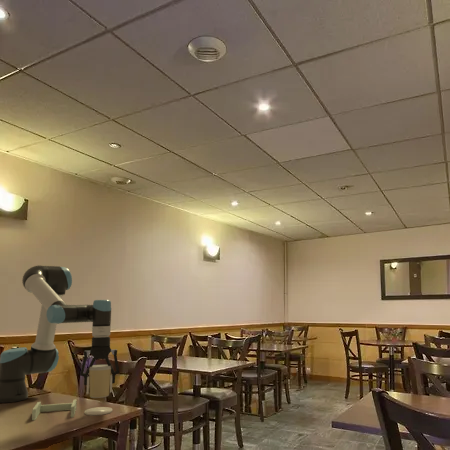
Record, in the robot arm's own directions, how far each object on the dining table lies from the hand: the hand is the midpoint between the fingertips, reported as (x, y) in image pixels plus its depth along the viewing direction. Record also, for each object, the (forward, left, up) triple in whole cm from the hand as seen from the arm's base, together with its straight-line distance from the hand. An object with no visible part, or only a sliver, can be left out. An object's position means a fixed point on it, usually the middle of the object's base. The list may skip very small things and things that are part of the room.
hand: (99, 392), depth 181 cm
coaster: (0, 0, -8) cm, 8 cm away
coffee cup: (0, 0, -2) cm, 2 cm away
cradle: (-2, -17, -8) cm, 19 cm away
